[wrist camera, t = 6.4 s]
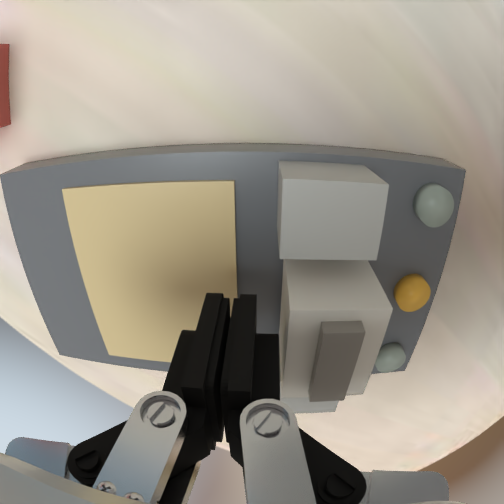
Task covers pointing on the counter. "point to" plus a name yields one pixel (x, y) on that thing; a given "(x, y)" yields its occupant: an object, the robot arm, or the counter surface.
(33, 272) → the breaker panel
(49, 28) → the counter surface
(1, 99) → the red block
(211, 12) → the counter surface
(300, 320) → the breaker switch
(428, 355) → the counter surface
